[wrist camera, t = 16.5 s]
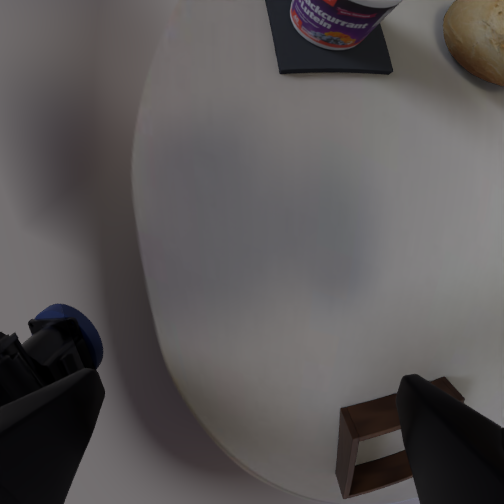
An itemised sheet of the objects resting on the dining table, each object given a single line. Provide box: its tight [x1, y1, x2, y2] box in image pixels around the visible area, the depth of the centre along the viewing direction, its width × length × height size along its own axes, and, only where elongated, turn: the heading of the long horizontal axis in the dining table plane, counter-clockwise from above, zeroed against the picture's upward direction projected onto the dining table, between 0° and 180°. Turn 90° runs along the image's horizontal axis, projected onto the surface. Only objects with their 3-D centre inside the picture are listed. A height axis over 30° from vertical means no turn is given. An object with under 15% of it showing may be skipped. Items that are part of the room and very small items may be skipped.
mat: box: [265, 0, 393, 75], centre depth 16 cm, size 8×8×1 cm
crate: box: [335, 377, 465, 499], centre depth 22 cm, size 11×11×4 cm
